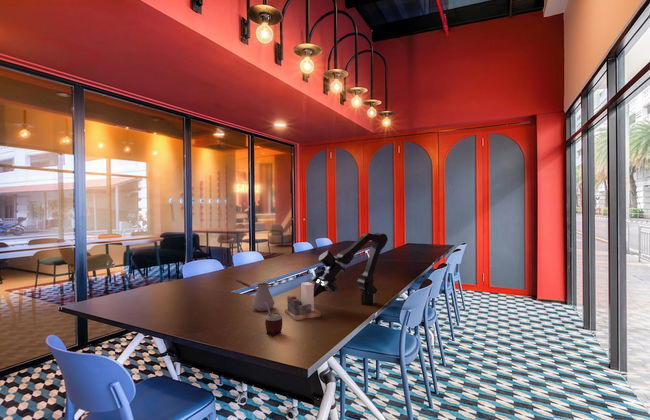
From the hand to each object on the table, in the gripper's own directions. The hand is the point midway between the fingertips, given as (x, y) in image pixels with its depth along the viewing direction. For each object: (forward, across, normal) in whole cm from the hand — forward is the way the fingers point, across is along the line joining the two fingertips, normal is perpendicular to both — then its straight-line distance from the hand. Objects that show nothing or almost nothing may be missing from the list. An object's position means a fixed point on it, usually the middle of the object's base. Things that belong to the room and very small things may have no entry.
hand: (312, 297), depth 170 cm
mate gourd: (+24, -19, +13) cm, 34 cm away
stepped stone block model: (+9, 0, -1) cm, 10 cm away
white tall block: (+6, 0, -2) cm, 7 cm away
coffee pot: (+23, +21, +11) cm, 33 cm away
